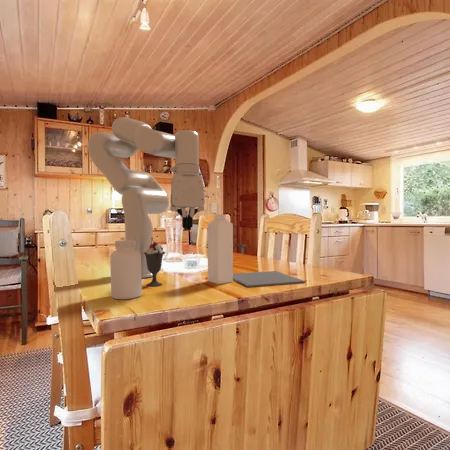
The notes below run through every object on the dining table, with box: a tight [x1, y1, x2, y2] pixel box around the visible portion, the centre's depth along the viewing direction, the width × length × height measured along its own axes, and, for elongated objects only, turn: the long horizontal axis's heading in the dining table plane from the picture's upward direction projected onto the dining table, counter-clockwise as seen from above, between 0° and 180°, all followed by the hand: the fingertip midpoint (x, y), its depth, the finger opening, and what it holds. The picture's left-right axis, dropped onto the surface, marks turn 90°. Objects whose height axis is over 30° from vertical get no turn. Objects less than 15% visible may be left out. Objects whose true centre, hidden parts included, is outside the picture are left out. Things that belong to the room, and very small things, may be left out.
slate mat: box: [233, 270, 306, 288], centre depth 113 cm, size 20×20×1 cm
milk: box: [207, 213, 234, 285], centre depth 109 cm, size 6×6×22 cm
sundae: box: [144, 237, 166, 288], centre depth 104 cm, size 7×7×15 cm
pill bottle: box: [109, 239, 143, 300], centre depth 90 cm, size 8×8×15 cm
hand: (187, 229), depth 105 cm, fingers closed
